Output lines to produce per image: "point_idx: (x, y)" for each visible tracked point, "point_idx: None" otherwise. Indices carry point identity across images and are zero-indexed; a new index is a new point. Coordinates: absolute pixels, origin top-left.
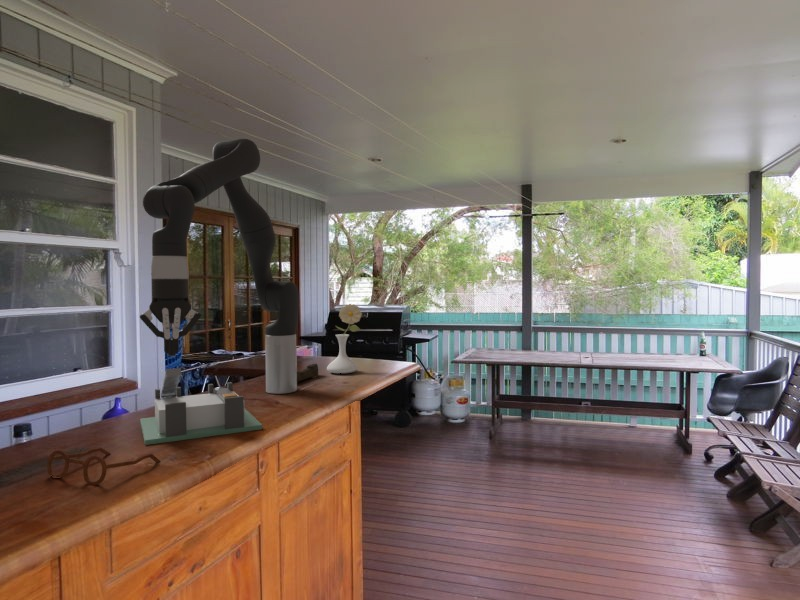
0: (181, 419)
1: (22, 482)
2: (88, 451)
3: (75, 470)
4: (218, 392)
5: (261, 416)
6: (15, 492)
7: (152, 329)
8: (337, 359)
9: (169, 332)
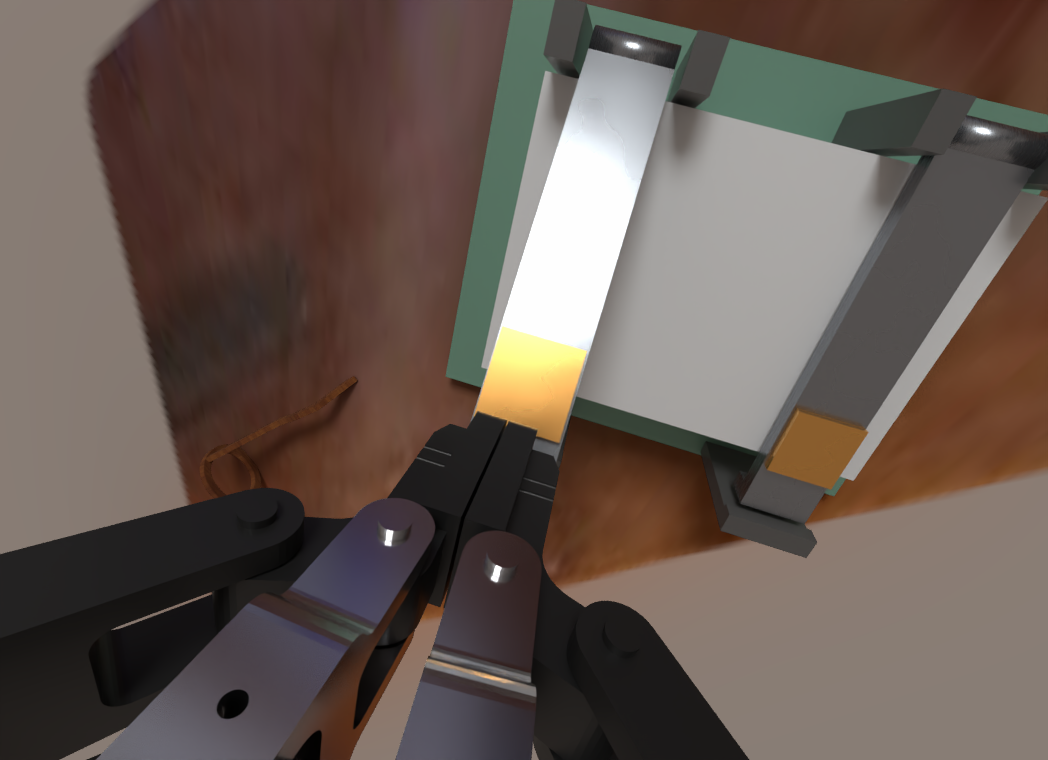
0: None
1: (193, 437)
2: (288, 422)
3: (281, 442)
4: (858, 296)
5: (1002, 320)
6: (193, 481)
7: (135, 661)
8: None
9: (379, 686)
